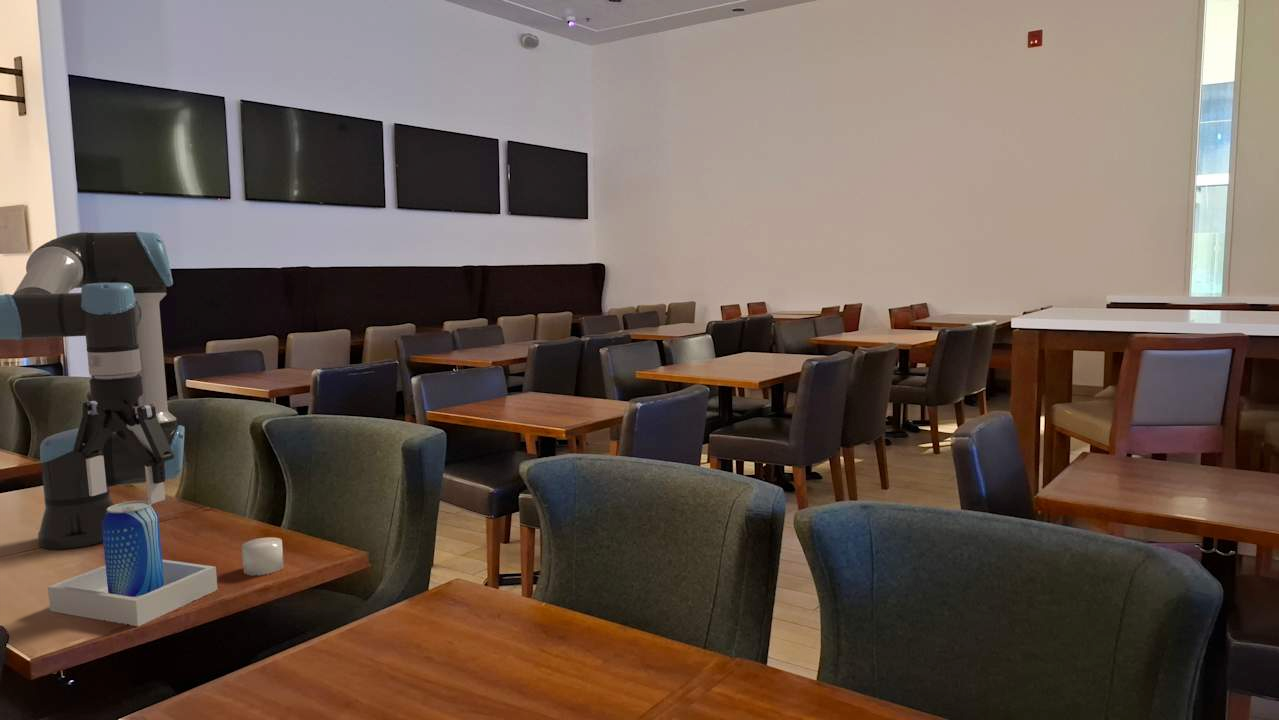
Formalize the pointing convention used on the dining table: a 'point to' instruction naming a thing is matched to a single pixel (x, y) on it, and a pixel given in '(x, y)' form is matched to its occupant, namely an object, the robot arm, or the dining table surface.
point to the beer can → (132, 549)
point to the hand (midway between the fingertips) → (127, 497)
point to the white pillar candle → (262, 556)
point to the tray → (95, 602)
